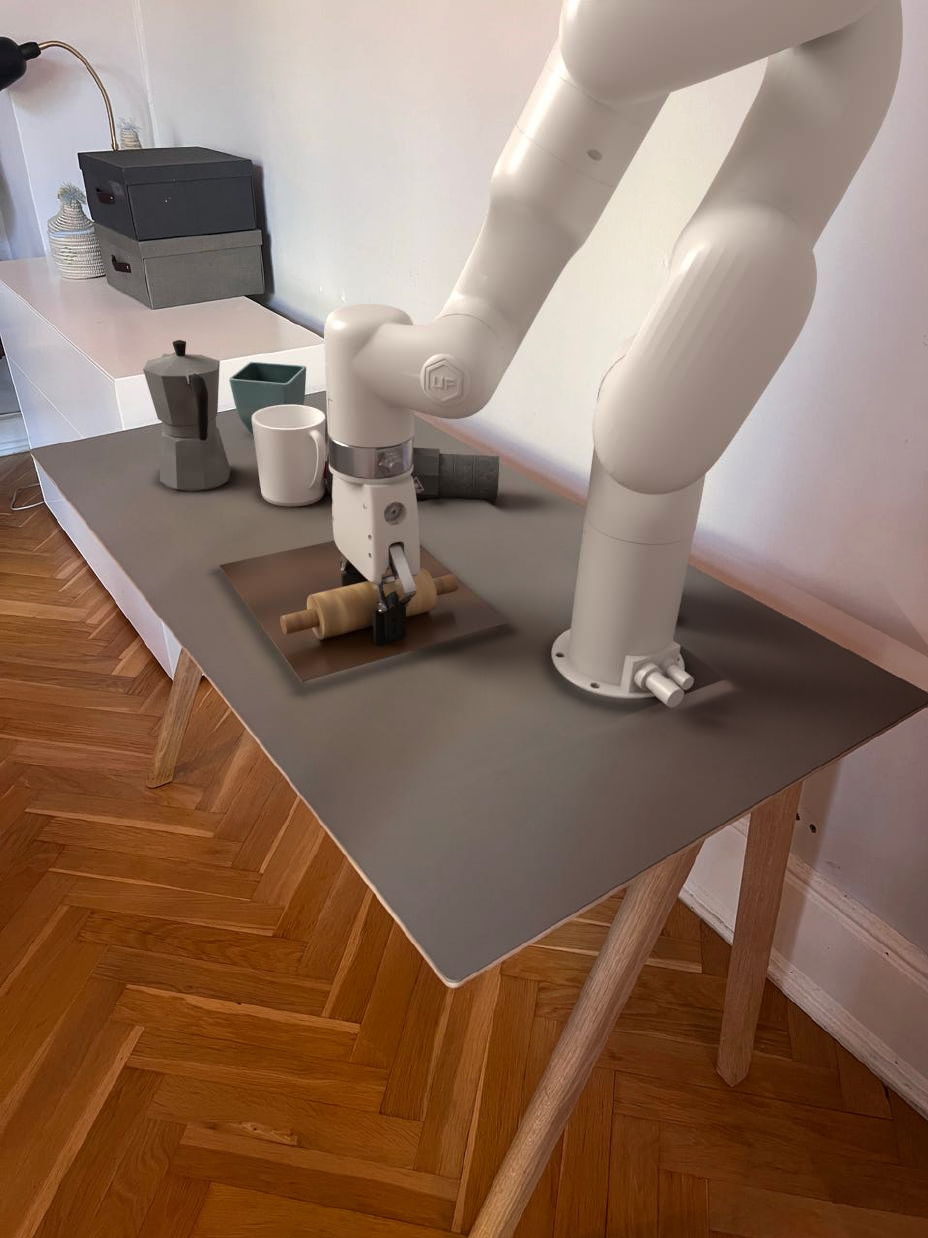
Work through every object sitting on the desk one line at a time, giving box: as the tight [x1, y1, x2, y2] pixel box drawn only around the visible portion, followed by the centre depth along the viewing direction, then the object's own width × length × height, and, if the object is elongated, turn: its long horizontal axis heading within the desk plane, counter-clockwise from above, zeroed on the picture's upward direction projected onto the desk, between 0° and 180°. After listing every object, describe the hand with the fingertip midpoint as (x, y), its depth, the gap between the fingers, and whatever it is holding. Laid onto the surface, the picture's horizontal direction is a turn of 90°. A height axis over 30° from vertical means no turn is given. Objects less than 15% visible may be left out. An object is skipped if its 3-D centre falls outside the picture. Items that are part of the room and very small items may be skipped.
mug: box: [252, 404, 327, 508], centre depth 114 cm, size 11×9×10 cm
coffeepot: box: [142, 339, 231, 492], centre depth 115 cm, size 15×9×18 cm, turn 29°
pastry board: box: [218, 539, 508, 683], centre depth 95 cm, size 24×22×1 cm
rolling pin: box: [280, 568, 458, 640], centre depth 89 cm, size 4×18×4 cm, turn 120°
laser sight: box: [324, 446, 500, 502], centre depth 116 cm, size 10×22×10 cm, turn 89°
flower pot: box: [228, 361, 307, 436], centre depth 133 cm, size 9×9×9 cm
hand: (373, 621), depth 90 cm, fingers closed on pastry board, 6 cm apart
